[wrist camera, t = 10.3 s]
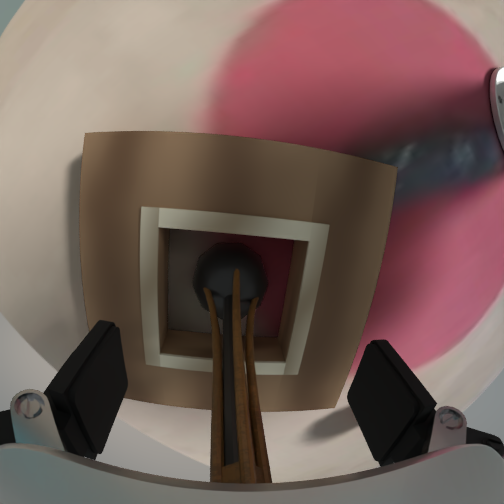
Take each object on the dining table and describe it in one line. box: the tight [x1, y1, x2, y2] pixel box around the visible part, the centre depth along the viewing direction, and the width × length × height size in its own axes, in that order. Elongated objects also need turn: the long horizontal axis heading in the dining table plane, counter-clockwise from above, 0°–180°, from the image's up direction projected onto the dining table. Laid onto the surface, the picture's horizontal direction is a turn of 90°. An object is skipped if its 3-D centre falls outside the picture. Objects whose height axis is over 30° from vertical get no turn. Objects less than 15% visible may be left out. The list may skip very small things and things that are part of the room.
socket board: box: [79, 131, 398, 412], centre depth 17 cm, size 18×18×3 cm
